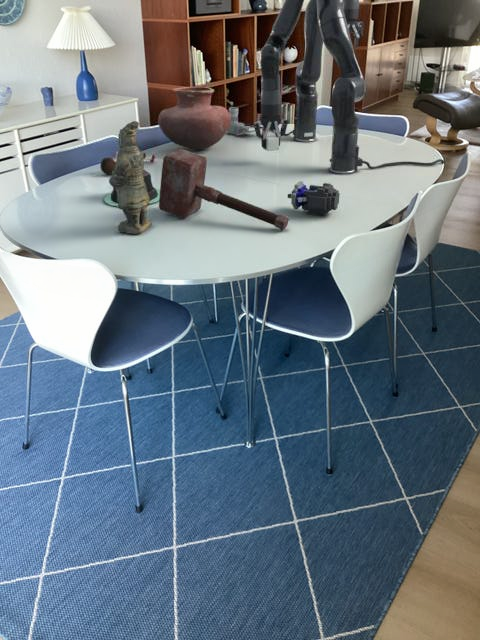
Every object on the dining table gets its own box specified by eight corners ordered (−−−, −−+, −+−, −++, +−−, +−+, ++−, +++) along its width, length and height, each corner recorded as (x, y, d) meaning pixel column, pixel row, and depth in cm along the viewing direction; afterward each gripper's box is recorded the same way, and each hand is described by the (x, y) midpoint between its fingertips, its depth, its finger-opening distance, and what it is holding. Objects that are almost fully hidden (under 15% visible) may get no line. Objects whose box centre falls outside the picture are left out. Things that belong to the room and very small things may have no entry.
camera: (234, 105, 269) (258, 109, 260) (235, 130, 275) (258, 135, 266) (222, 108, 263) (246, 112, 254) (223, 134, 269) (246, 138, 260)
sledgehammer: (299, 190, 156) (179, 147, 167) (285, 200, 148) (161, 154, 160) (286, 244, 166) (174, 200, 177) (272, 256, 158) (156, 209, 170)
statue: (131, 220, 168) (117, 116, 152) (158, 224, 164) (147, 118, 149) (109, 233, 159) (93, 124, 144) (138, 237, 156) (124, 126, 140)
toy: (295, 178, 172) (342, 184, 166) (295, 205, 177) (340, 211, 171) (285, 186, 166) (333, 192, 160) (284, 213, 170) (331, 220, 164)
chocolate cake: (91, 202, 180) (113, 186, 197) (142, 231, 182) (160, 212, 199) (107, 162, 172) (129, 148, 190) (160, 192, 174) (177, 176, 192)
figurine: (161, 151, 222) (115, 157, 203) (161, 170, 225) (116, 178, 206) (137, 147, 228) (90, 152, 209) (137, 166, 232) (91, 173, 212)
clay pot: (236, 141, 255) (235, 83, 242) (223, 158, 229) (221, 93, 216) (172, 140, 260) (168, 82, 247) (152, 156, 234) (146, 93, 221)
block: (273, 147, 221) (273, 135, 219) (278, 149, 217) (278, 137, 215) (262, 148, 220) (262, 136, 218) (267, 151, 216) (267, 139, 214)
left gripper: (360, 7, 257) (356, 46, 265) (332, 8, 253) (330, 47, 261) (368, 7, 251) (364, 47, 259) (339, 8, 247) (337, 48, 255)
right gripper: (284, 99, 215) (283, 144, 223) (249, 102, 211) (250, 148, 219) (292, 101, 209) (291, 148, 217) (256, 105, 205) (257, 152, 213)
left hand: (347, 47), depth 260 cm, fingers open, 8 cm apart
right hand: (270, 147), depth 218 cm, fingers closed on block, 4 cm apart
